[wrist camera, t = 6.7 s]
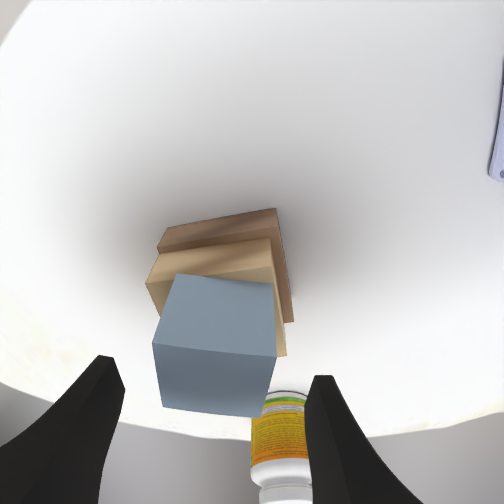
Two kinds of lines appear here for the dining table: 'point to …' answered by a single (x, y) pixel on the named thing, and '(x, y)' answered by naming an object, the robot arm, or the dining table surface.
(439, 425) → the dining table surface
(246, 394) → the slate blue cube
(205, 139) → the dining table surface
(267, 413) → the supplement bottle
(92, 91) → the dining table surface
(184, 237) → the walnut slab
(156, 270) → the oak slab
